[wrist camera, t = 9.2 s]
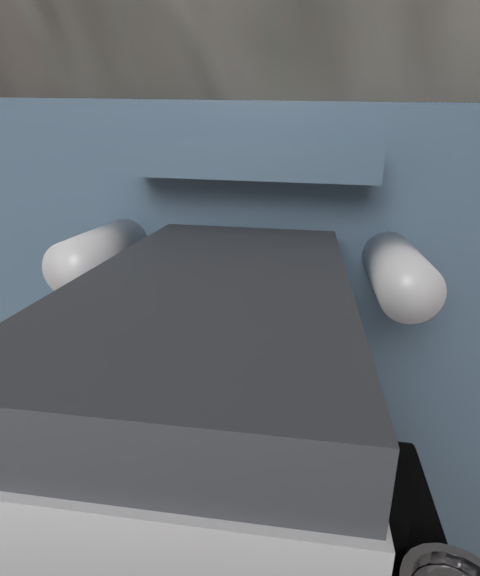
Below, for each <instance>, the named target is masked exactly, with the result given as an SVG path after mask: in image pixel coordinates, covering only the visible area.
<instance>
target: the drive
mask: <svg viewBox="0 0 480 576" xmlns="http://www.w3.org/2000/svg"><path fill="white" fill-rule="evenodd" d="M399 450H400V448H399V445H398V442H397V438H396V435H395V432H394V428H393V425H392V422H391V418H390V415H389V412H388V408H387V405H386V402H385V398H384V395H383V391H382V388H381V385H380V381H379V378H378V375H377V371H376V368H375V365H374V361H373V358H372V355H371V351H370V348H369V345H368V341H367V338H366V335H365V331H364V328H363V325H362V321H361V318H360V315H359V311H358V308H357V304H356V301H355V298H354V294H353V291H352V288H351V284H350V281H349V278H348V274H347V271H346V268H345V264H344V261H343V258H342V254H341V251H340V248H339V244H338V241H337V238H336V234H335V231H318V230H295V229H273V228H250V227H228V226H206V225H183V224H168V225H166V226H164V227H162V228H161V229H159V230H157V231H156V232H154V233H152V234H150V235H149V236H147V237H145V238H144V239H142V240H140V241H139V242H137V243H135V244H133V245H132V246H130V247H128V248H127V249H125V250H123V251H121V252H120V253H118V254H116V255H115V256H113V257H111V258H110V259H108V260H106V261H104V262H103V263H101V264H99V265H98V266H96V267H94V268H92V269H91V270H89V271H87V272H86V273H84V274H82V275H81V276H79V277H77V278H75V279H74V280H72V281H70V282H69V283H67V284H65V285H63V286H62V287H60V288H58V289H57V290H55V291H53V292H52V293H50V294H48V295H46V296H45V297H43V298H41V299H40V300H38V301H36V302H34V303H33V304H31V305H29V306H28V307H26V308H24V309H23V310H21V311H19V312H17V313H16V314H14V315H12V316H11V317H9V318H7V319H5V320H4V321H2V322H0V576H392V571H393V565H394V558H395V550H394V545H393V540H392V536H391V531H390V526H389V516H390V510H391V503H392V496H393V490H394V483H395V476H396V470H397V463H398V457H399Z"/></svg>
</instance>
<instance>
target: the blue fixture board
mask: <svg viewBox="0 0 480 576" xmlns="http://www.w3.org/2000/svg"><path fill="white" fill-rule="evenodd" d="M168 224H183V225H206V226H228V227H250V228H273V229H295V230H318V231H335V234H336V238H337V241H338V244H339V248H340V251H341V254H342V258H343V261H344V264H345V268H346V271H347V274H348V278H349V281H350V284H351V288H352V291H353V294H354V298H355V301H356V304H357V308H358V311H359V315H360V318H361V321H362V325H363V328H364V331H365V335H366V338H367V341H368V345H369V348H370V351H371V355H372V358H373V361H374V365H375V368H376V371H377V375H378V378H379V381H380V385H381V388H382V391H383V395H384V398H385V402H386V405H387V408H388V412H389V415H390V418H391V422H392V425H393V428H394V432H395V435H396V438H397V441H398V442H407V443H412V444H414V446H415V448H416V450H417V453H418V456H419V459H420V462H421V465H422V468H423V471H424V474H425V477H426V480H427V483H428V486H429V489H430V492H431V495H432V498H433V501H434V504H435V507H436V510H437V513H438V516H439V519H440V522H441V525H442V528H443V531H444V534H445V537H446V540H447V543H448V545H453V546H456V547H458V548H461V549H463V550H466V551H468V552H471V553H472V554H474V555H475V556H477V557H478V558H480V103H432V102H345V101H258V100H170V99H83V98H0V322H2V321H4V320H5V319H7V318H9V317H11V316H12V315H14V314H16V313H17V312H19V311H21V310H23V309H24V308H26V307H28V306H29V305H31V304H33V303H34V302H36V301H38V300H40V299H41V298H43V297H45V296H46V295H48V294H50V293H52V292H53V291H55V290H57V289H58V288H60V287H62V286H63V285H65V284H67V283H69V282H70V281H72V280H74V279H75V278H77V277H79V276H81V275H82V274H84V273H86V272H87V271H89V270H91V269H92V268H94V267H96V266H98V265H99V264H101V263H103V262H104V261H106V260H108V259H110V258H111V257H113V256H115V255H116V254H118V253H120V252H121V251H123V250H125V249H127V248H128V247H130V246H132V245H133V244H135V243H137V242H139V241H140V240H142V239H144V238H145V237H147V236H149V235H150V234H152V233H154V232H156V231H157V230H159V229H161V228H162V227H164V226H166V225H168Z"/></svg>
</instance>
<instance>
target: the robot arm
mask: <svg viewBox="0 0 480 576" xmlns="http://www.w3.org/2000/svg"><path fill="white" fill-rule="evenodd" d="M397 442H398V441H397ZM398 445H399V448H400V450H399V457H398V463H397V470H396V476H395V483H394V490H393V496H392V503H391V510H390V516H389V526H390V531H391V536H392V540H393V545H394V550H395V558H394V565H393V571H392V576H480V558H478V557H477V556H475V555H474V554H472V553H471V552H468V551H466V550H463V549H461V548H458V547H456V546H453V545H448V543H447V540H446V537H445V534H444V531H443V528H442V525H441V522H440V519H439V516H438V513H437V510H436V507H435V504H434V501H433V498H432V495H431V492H430V489H429V486H428V483H427V480H426V477H425V474H424V471H423V468H422V465H421V462H420V459H419V456H418V453H417V450H416V448H415V446H414V444H412V443H407V442H398Z"/></svg>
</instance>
